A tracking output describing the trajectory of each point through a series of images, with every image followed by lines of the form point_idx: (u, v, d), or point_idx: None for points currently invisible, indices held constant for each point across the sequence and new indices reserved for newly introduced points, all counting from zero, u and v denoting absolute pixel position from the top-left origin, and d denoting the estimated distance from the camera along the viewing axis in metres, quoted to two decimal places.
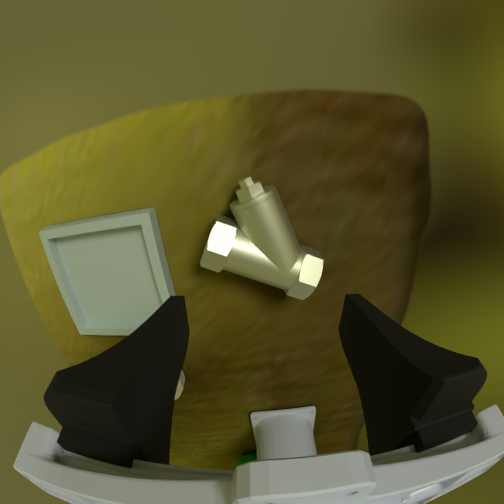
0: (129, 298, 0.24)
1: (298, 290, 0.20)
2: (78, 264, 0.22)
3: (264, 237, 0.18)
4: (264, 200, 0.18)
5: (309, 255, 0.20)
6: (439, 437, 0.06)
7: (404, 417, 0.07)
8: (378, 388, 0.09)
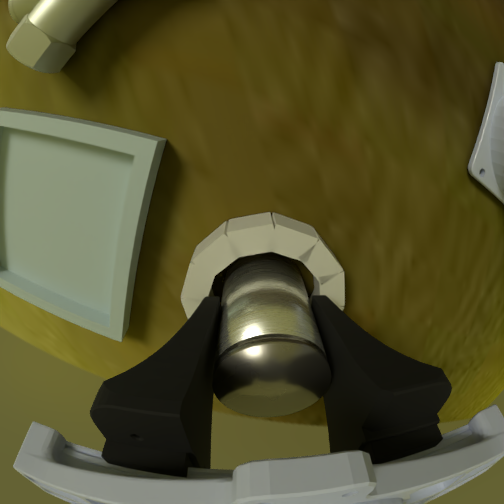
0: (82, 209, 0.12)
1: None
2: (29, 257, 0.13)
3: None
4: None
5: None
6: (395, 451, 0.06)
7: (357, 427, 0.06)
8: (337, 394, 0.09)
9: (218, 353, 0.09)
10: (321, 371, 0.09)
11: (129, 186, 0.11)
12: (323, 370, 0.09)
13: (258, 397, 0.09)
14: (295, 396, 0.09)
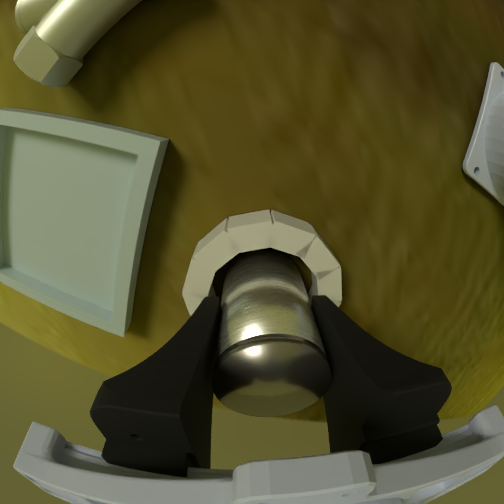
0: (86, 206, 0.13)
1: None
2: (33, 254, 0.14)
3: None
4: None
5: None
6: (395, 451, 0.06)
7: (357, 427, 0.06)
8: (337, 394, 0.09)
9: (218, 353, 0.09)
10: (321, 371, 0.09)
11: (133, 184, 0.12)
12: (323, 370, 0.09)
13: (258, 397, 0.09)
14: (295, 396, 0.09)
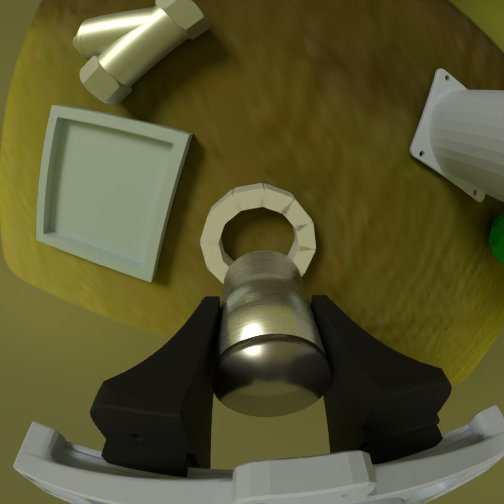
0: (130, 180, 0.18)
1: (182, 14, 0.12)
2: (79, 219, 0.20)
3: (108, 30, 0.12)
4: (85, 24, 0.11)
5: None
6: (395, 451, 0.06)
7: (357, 427, 0.06)
8: (337, 394, 0.09)
9: (218, 353, 0.09)
10: (321, 371, 0.09)
11: (168, 163, 0.17)
12: (323, 370, 0.09)
13: (258, 397, 0.09)
14: (295, 396, 0.09)
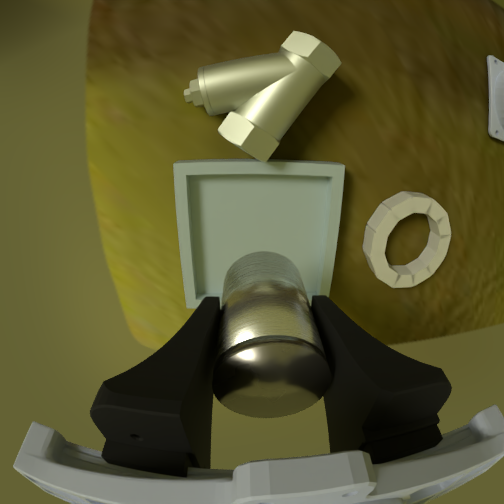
0: (289, 220, 0.20)
1: (323, 62, 0.13)
2: None
3: (245, 82, 0.14)
4: (203, 76, 0.14)
5: (284, 43, 0.13)
6: (395, 451, 0.06)
7: (357, 427, 0.06)
8: (337, 394, 0.09)
9: (218, 354, 0.09)
10: (321, 372, 0.09)
11: (332, 196, 0.18)
12: (323, 371, 0.09)
13: (258, 398, 0.09)
14: (295, 397, 0.09)
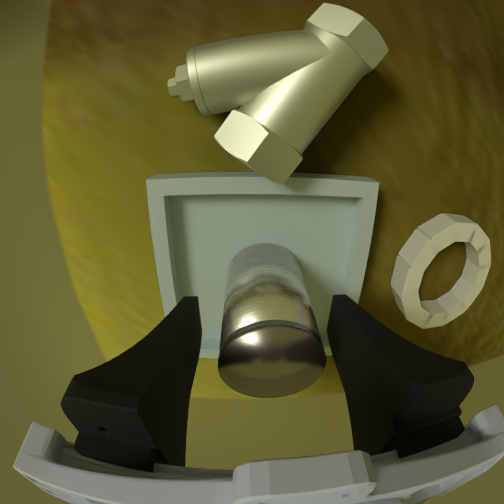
0: (302, 253, 0.15)
1: (367, 46, 0.09)
2: None
3: (255, 67, 0.09)
4: (195, 58, 0.09)
5: (311, 17, 0.09)
6: (423, 443, 0.06)
7: (387, 421, 0.07)
8: (363, 391, 0.09)
9: (223, 338, 0.10)
10: (316, 354, 0.10)
11: (361, 223, 0.14)
12: (318, 353, 0.10)
13: (260, 379, 0.10)
14: (294, 378, 0.10)
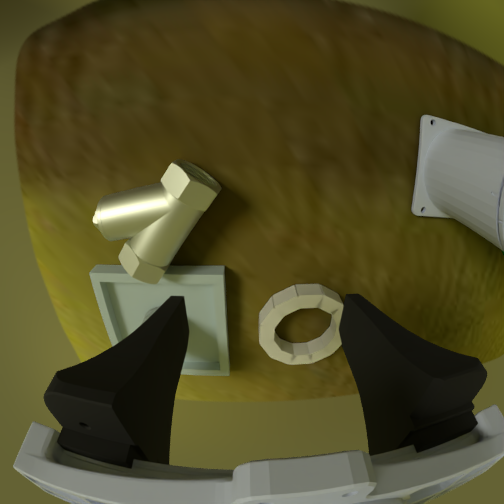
0: None
1: (196, 199, 0.17)
2: None
3: (130, 222, 0.17)
4: (100, 214, 0.17)
5: (163, 177, 0.17)
6: (439, 437, 0.06)
7: (404, 417, 0.07)
8: (378, 388, 0.09)
9: None
10: None
11: (215, 299, 0.22)
12: None
13: None
14: None
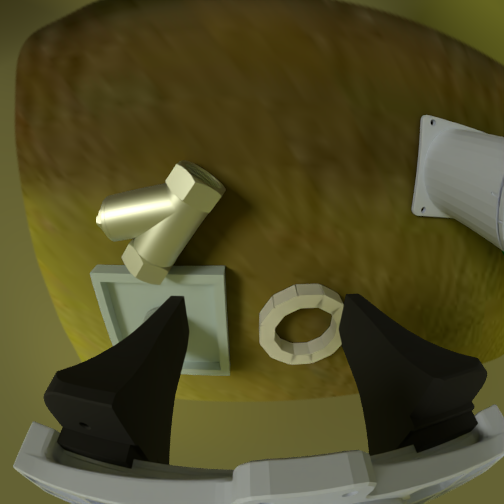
0: None
1: (201, 200, 0.17)
2: None
3: (134, 223, 0.17)
4: (104, 214, 0.17)
5: (167, 178, 0.17)
6: (439, 437, 0.06)
7: (404, 417, 0.07)
8: (378, 388, 0.09)
9: None
10: None
11: (215, 299, 0.22)
12: None
13: None
14: None
